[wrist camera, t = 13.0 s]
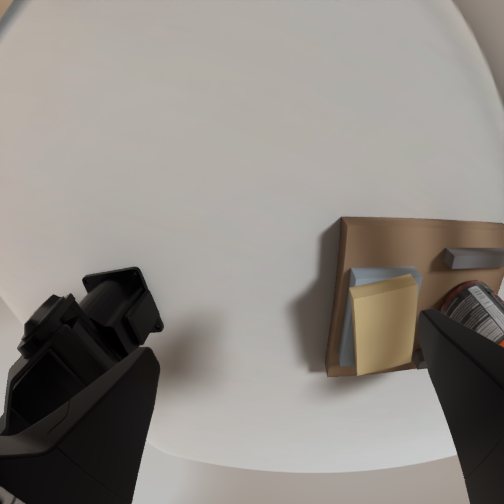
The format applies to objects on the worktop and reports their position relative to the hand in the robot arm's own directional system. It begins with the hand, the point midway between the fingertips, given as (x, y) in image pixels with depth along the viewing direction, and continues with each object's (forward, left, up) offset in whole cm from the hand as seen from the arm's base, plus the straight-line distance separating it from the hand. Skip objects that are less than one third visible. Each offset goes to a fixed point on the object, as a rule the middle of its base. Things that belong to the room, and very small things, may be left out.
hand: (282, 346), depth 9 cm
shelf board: (+11, -9, -13) cm, 19 cm away
